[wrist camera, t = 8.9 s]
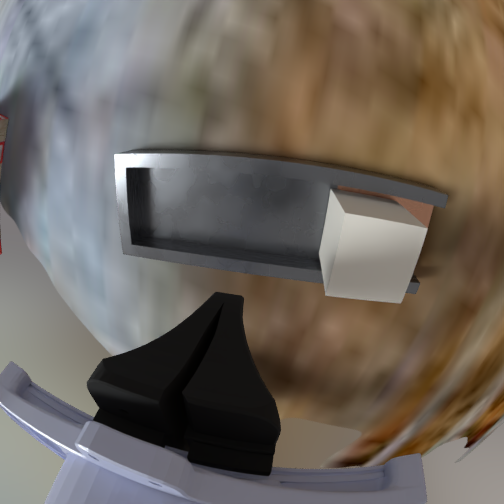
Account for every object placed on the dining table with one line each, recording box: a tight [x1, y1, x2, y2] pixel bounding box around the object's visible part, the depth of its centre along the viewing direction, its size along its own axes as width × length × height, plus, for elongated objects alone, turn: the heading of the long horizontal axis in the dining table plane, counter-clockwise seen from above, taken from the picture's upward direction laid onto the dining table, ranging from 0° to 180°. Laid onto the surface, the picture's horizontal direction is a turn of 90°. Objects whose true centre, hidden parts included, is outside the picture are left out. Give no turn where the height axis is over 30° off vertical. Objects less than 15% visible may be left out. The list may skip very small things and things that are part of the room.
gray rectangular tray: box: [115, 150, 448, 294], centre depth 19 cm, size 8×24×2 cm, turn 86°
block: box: [319, 188, 428, 303], centre depth 16 cm, size 5×5×6 cm
